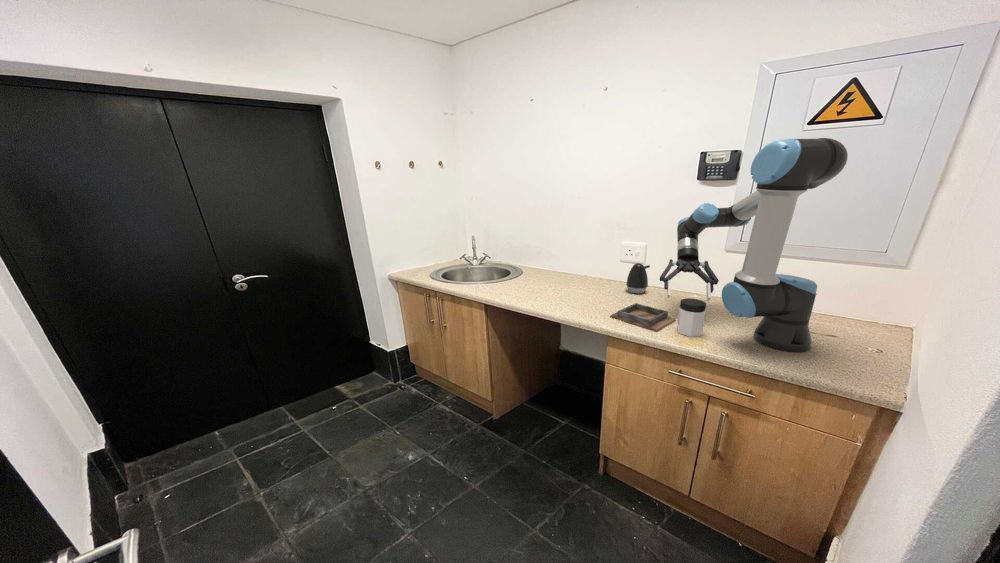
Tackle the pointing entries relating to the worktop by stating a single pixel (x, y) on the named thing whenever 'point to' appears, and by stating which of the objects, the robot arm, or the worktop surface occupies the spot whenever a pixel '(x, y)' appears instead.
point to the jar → (691, 317)
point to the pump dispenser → (637, 279)
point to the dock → (644, 317)
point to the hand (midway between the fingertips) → (688, 297)
